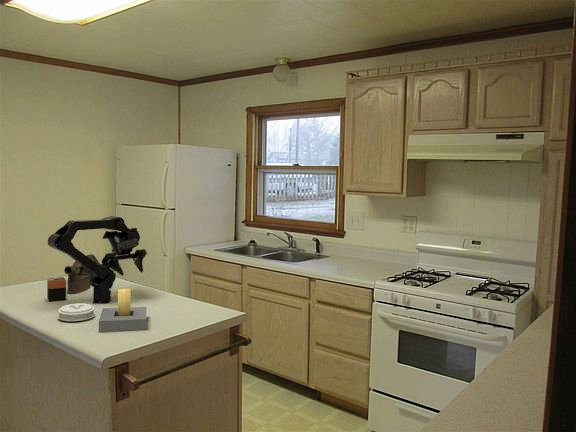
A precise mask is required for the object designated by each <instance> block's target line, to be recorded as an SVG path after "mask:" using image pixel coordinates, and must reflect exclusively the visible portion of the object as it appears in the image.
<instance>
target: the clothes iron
mask: <svg viewBox="0 0 576 432" xmlns="http://www.w3.org/2000/svg"><path fill="white" fill-rule="evenodd" d="M77 269H80V272H76V270H77ZM63 270H64V271H63V272H64V273H65V274H66V275H67V279H66V287H67V288H66V293H67V294H68V295H76V294H80V293H83V292H85V291H88V290H89V289H90V288H91V283H90V274H89V273H85V272H84V267H83V266H82V265H81V264H76V265H75V266H72V265H66V266H65V267H64V269H63Z"/></svg>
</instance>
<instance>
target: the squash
mask: <svg viewBox="0 0 576 432" xmlns="http://www.w3.org/2000/svg"><path fill="white" fill-rule="evenodd" d="M86 256H87V257H88V258H90V259H91V260H92V261H94V262H95V263H97V264H98V265H100V264H101V263H100V262H99V260H98V259H97V257H96V256H95V255H94V254H92V253H91V254H87V255H86ZM76 264H79V263H78V262H77V261H75V260H74V261H73V263H72V265H71V266H75V265H76ZM76 272H80V269H77V270H76ZM84 272H85V273H89V274H90V282H91V281H92V279H93V278H94V276H93V275H92V273H91V272H90V271H89V270H88V269H86V268H85V267H84Z"/></svg>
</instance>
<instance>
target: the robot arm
mask: <svg viewBox="0 0 576 432" xmlns="http://www.w3.org/2000/svg"><path fill="white" fill-rule="evenodd" d="M101 229H102V230H106V231H105V232H104V234H103V236H102V240H105V239H106V240H108V241H109V244H110V246H111V252H107V253H105V254H104V256H103V257H102V259H101V263H100V265H98V264H97V263H95V262H94V261H92V260H91V259H90V258H88V257H87V255H86V254H85V253H83V252H82V251H80V250H79V249H78V248H76V246H75V245H74V243H73V242H72V240H73V239H74V237H75V235H76V233H77V232H78V231H87V230H88V231H90V230H101ZM108 230H111V231H108ZM140 240H141V236H140V233H139V231H138V228H137V227H131V228H130V227H129V228H128V226H127V224H126V223H125V220H124V218H122V217H119V216H115V215H110V216H107V217H103V218H100V219H86V220H85V219H84V220H68V221H67V222H66V223H65V224H63V226H62V227H60V228H58V229H57V230H56V231H54V233H53V234H52V233H51V235H49V236H48V238H47V245H48V246H49V247H50V248H52V249H54V250H56V251H58V252H61V253H62V254H63V253H64V255H65V254H66V255H67V256H68V257H69V258H71V259H73V260H74V262H75V261H77V262H78V263H79V264H81V265H82V266H83V267H85V268H86V269H88V270H89V271H90V272H91V273H92V275H93V276H94V278H93V279H92V281H91V282H90V287H93V293H92V294H93V295H92V296H93V297H92V299H93V301H92V304H109V303H110V301H111V299H112V290H111V289H112V288H113V287H114V286H113V285H114V282H115V280H116V278H117V277H116V275H117V274H116V273H115V272H117V273H118V274H119V275H121V276H123V275H124V271H123V269H122V267H121V264H120V263H119V261H121V260H129V259H130V260H131V259H132V260H133V264H134V266H135V267H137V268H136V269H138V271H139V272H140V273H143V272H144V267H143V266H144V265H143V260H144V259H145V257H146V256H147V254H148V252H147V250H146V249H144V248H141V249H136V250H135V252H134V253H131V252H133V249H134V248H137V246H139V244H140Z"/></svg>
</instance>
